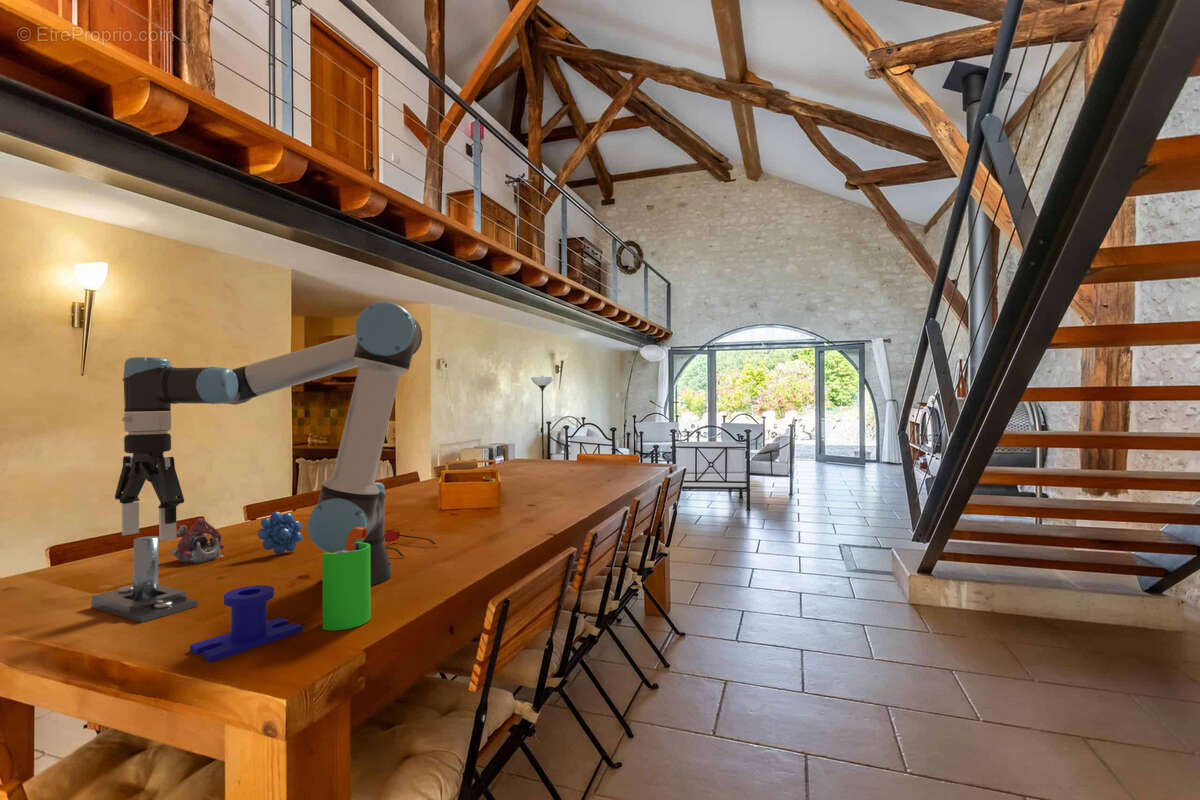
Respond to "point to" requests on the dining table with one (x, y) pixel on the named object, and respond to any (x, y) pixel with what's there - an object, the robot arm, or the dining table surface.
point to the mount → (246, 624)
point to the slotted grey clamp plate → (143, 603)
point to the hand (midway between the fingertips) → (148, 536)
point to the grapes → (280, 532)
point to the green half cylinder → (347, 584)
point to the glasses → (395, 535)
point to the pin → (145, 567)
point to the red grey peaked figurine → (198, 543)
